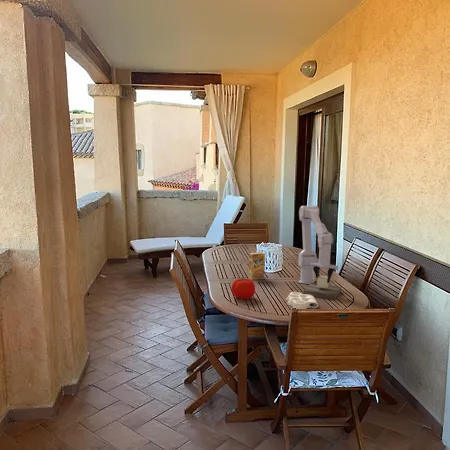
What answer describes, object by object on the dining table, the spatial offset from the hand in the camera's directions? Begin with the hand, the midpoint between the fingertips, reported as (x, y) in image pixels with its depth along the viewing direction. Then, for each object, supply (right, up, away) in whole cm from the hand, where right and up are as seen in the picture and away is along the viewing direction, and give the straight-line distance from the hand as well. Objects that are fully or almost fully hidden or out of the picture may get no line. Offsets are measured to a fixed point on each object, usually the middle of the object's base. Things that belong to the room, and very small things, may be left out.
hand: (323, 281), depth 215 cm
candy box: (-33, -2, +26) cm, 42 cm away
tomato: (-43, -7, -10) cm, 44 cm away
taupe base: (0, -6, +1) cm, 6 cm away
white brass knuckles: (-15, -9, -16) cm, 24 cm away
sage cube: (0, -3, 0) cm, 3 cm away
